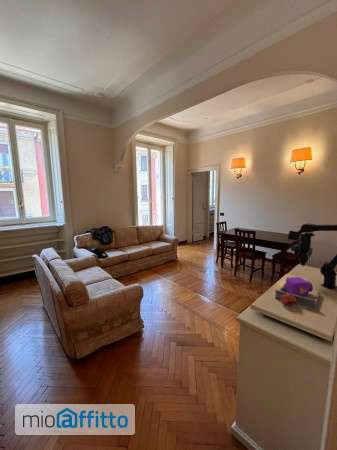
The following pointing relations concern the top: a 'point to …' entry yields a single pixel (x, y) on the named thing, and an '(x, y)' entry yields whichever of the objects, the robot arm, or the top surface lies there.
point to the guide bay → (299, 298)
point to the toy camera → (298, 286)
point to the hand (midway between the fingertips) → (304, 264)
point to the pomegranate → (288, 299)
